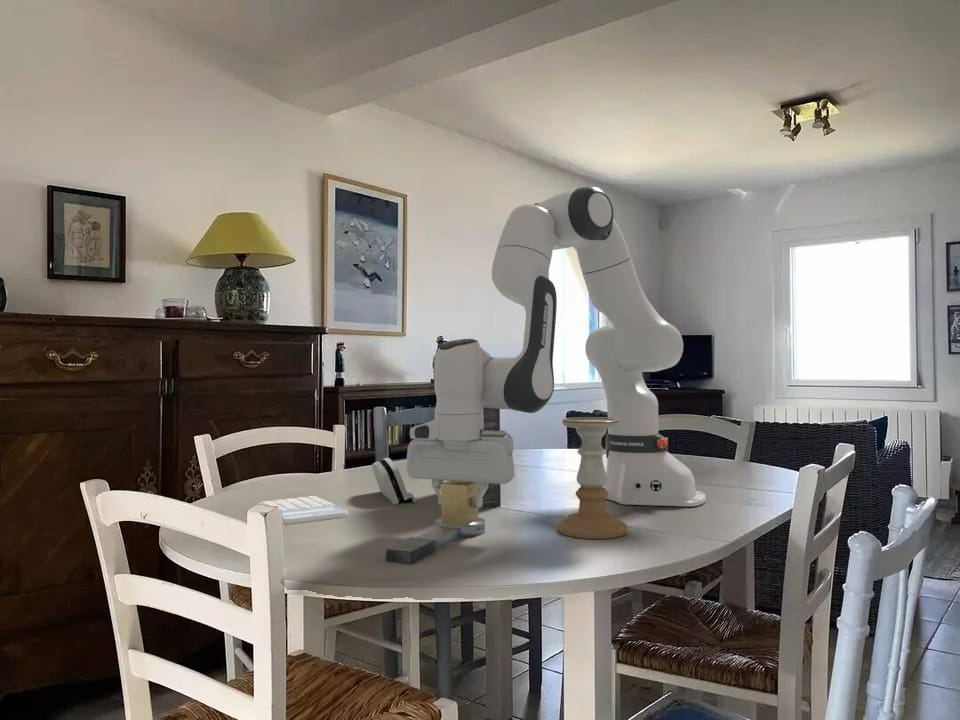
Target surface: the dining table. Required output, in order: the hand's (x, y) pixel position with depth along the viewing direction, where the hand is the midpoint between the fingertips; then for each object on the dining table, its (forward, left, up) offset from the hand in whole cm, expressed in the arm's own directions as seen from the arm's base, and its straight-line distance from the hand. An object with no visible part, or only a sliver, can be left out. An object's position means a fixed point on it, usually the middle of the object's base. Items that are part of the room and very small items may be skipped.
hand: (460, 505), depth 132 cm
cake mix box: (+11, -31, -5) cm, 33 cm away
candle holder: (-22, -9, -5) cm, 24 cm away
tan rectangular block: (0, 0, -3) cm, 3 cm away
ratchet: (0, +9, -5) cm, 10 cm away
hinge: (+29, -25, -5) cm, 38 cm away
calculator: (+38, -4, -5) cm, 39 cm away
